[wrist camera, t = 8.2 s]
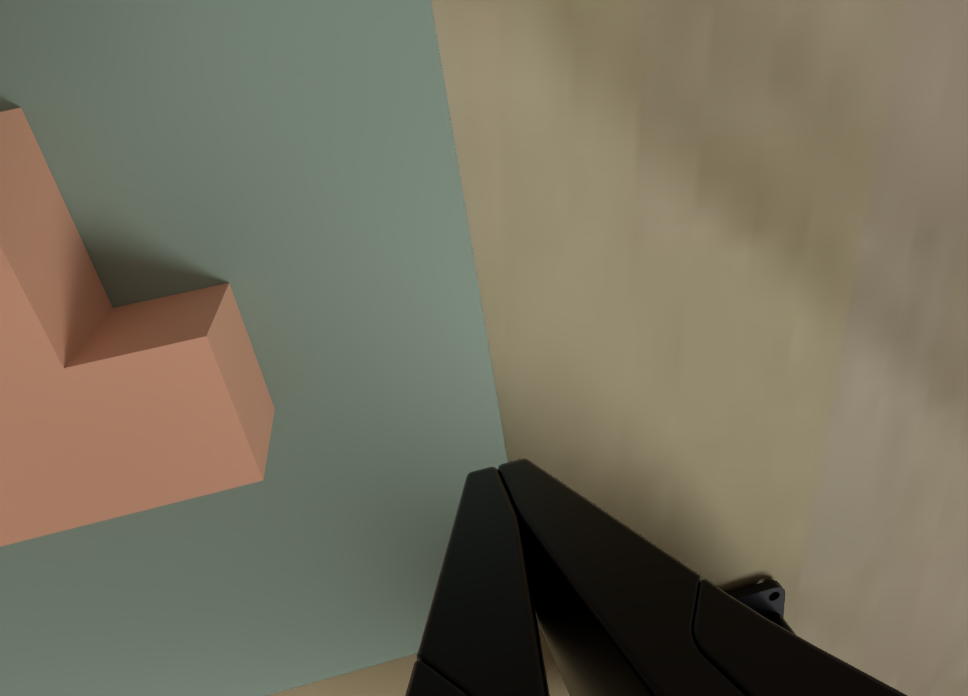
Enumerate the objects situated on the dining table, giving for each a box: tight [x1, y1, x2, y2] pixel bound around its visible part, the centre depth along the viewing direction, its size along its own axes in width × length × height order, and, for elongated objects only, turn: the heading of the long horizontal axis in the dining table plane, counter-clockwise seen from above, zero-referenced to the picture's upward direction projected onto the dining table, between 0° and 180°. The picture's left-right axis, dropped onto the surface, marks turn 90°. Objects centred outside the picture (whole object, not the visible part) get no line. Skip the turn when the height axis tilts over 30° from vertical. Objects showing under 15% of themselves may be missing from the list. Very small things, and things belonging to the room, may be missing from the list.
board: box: [0, 0, 508, 696], centre depth 19 cm, size 23×24×1 cm
